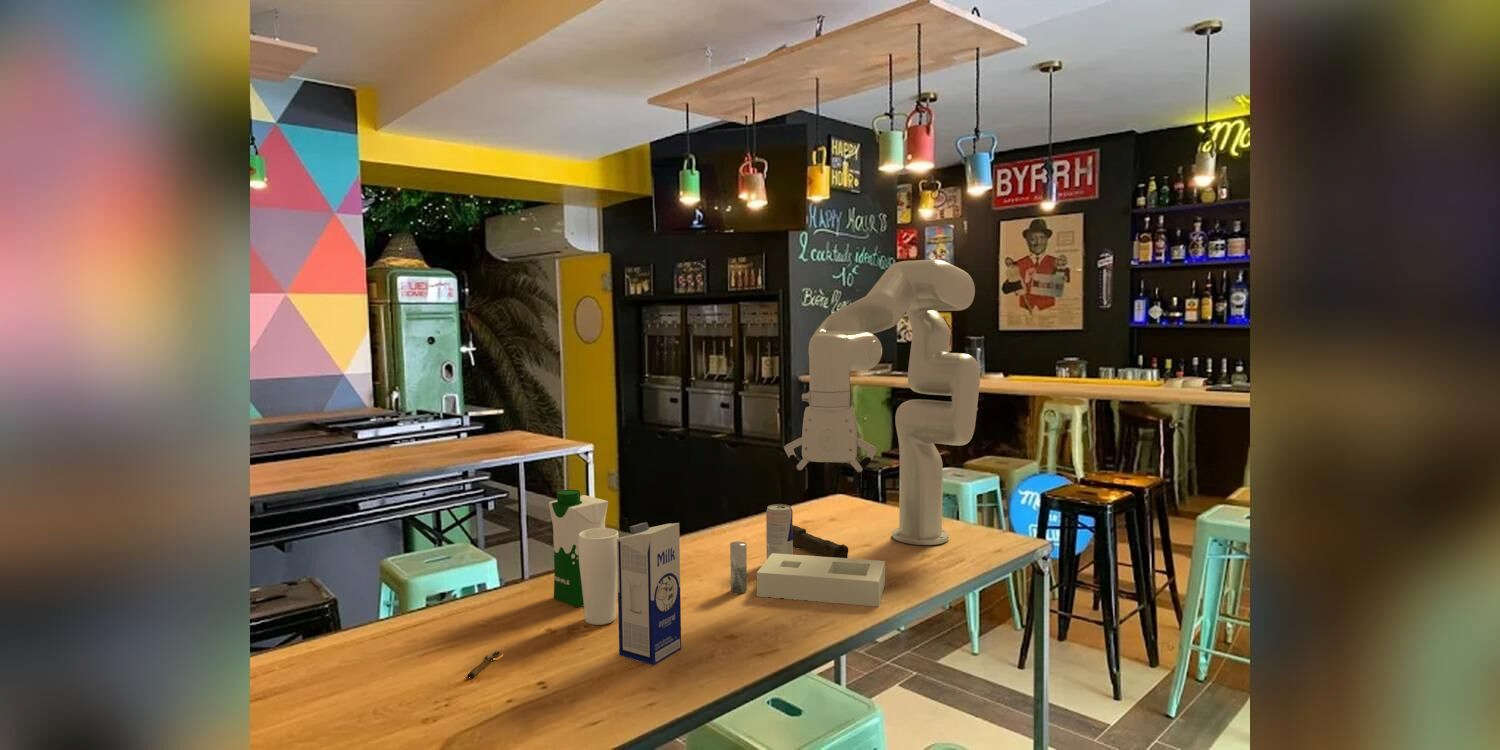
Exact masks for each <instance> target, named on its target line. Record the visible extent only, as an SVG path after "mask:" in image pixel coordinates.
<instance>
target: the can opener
mask: <svg viewBox="0 0 1500 750" xmlns="http://www.w3.org/2000/svg"><path fill="white" fill-rule="evenodd" d="M492 653H493V654H492V655H491V656H490V657H489V655H485V656H484V660H483V661H482V662H480V664H478V665H477V666H475V667H474V668H473V669H472V670H470V671H469V673H468V674H467V676H466V677H467V679H469V677H470V678H474V677H475V676H476V677H478V674H479V673H480V672H481V671H482V670H485V669H486V668H487V667H488V666H489V665H490V664H491V663H490V662H492V661H491V660H493V658H495V657H497V655H498V654H497V653H499V654H500V651H499V650H495V651H494V652H492ZM488 664H489V665H488ZM487 665H488V666H487ZM486 666H487V667H486ZM485 667H486V668H485ZM482 672H483V671H482ZM482 672H481V673H482ZM481 673H480V674H481ZM480 674H479V675H480ZM476 677H475V678H476ZM475 678H474V679H475Z"/></svg>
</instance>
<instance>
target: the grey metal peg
mask: <svg viewBox="0 0 1500 750" xmlns="http://www.w3.org/2000/svg"><path fill="white" fill-rule="evenodd" d="M729 548H730V549H729V551H730V554H729V555H730V559H729V560H730V563H729V564H730V593H732V594H734V593H737V594H736V595H740V594H739V593H743V594H746V593H747V592H748V581H747V580H748V576H747V575H748V572H747V570H748V565H747V563H748V562H747V558H748V557H747V555H748V554H747V548H748V547H747V542H745V541H733V542H730V543H729ZM746 591H747V592H746ZM745 592H746V593H745Z"/></svg>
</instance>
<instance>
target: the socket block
mask: <svg viewBox="0 0 1500 750" xmlns="http://www.w3.org/2000/svg"><path fill="white" fill-rule="evenodd" d="M885 585H886V561H885V560H878V559H862V558H861V559H860V558H849V557H848V558H835V557H823V556H821V555H807V554H806V555H803V554H793V555H791V554H777V553H772V554H771V555H770V556H769V557H768V559H767V558H766V560H765V561H764V562H763V564H762V565H761V566H760V568H759V569H758V570H757V572H756V597H757V596H759V597H760V598H768V597H771V598H770V599H780V598H784V599H783V600H792V599H793V600H794V601H804V600H808V601H807V602H816V601H817V603H818V602H819V603H830V604H839V605H840V604H844V605H853V606H855V605H856V606H866V607H867V606H868V607H878V608H879V607H880V604H881V600H882V596H883V593H884V589H885ZM759 597H758V598H759Z"/></svg>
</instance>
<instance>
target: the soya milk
mask: <svg viewBox="0 0 1500 750" xmlns="http://www.w3.org/2000/svg"><path fill="white" fill-rule="evenodd" d="M556 497H557V498H556V500H551V501H549V502H548V507H549V513H550V517H551V523H552V530H553V531H552V532H553V562H554V564H553V565H554V567H553V568H554V569H553V570H554V572H553V573H554V574H553V575H554V577H553V578H554V580H553V581H554V582H553V583H554V584H553V599H554V600H557V601H559V602H561V603H563V604H566V605H568V606H570V607H572V608H573V607H574V608H575V609H576V608H579V607H582V606H583V607H584V603H583V593H582V585H581V576H580V567H579V557H578V535H579V533H580V532H582V531H585V530H589V529H595V528H606V517H607V510H608V506H609V501H608V500H605V499H602V498H598V497H593V496H590V495H585V494H584V495H583V494H582V495H581V491H580V490H579V489H563V490H559V491H558V492H557V494H556Z"/></svg>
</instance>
